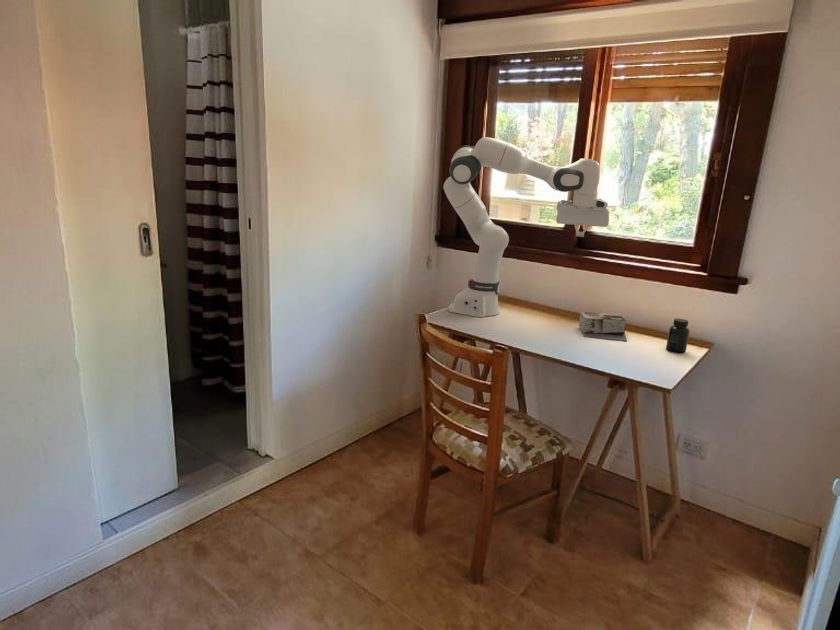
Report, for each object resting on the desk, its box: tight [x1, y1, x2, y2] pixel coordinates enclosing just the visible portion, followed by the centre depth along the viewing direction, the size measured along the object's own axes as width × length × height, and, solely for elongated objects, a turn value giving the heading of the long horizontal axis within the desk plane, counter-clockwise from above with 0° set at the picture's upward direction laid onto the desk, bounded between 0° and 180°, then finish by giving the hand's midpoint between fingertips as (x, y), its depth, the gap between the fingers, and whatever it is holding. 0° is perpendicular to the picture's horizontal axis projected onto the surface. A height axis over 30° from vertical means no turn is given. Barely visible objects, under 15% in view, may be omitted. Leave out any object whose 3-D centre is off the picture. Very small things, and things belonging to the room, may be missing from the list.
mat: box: [583, 331, 628, 343], centre depth 220 cm, size 16×13×1 cm
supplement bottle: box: [665, 318, 690, 355], centre depth 203 cm, size 7×7×12 cm
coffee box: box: [578, 311, 627, 335], centre depth 222 cm, size 9×6×16 cm
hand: (580, 236), depth 220 cm, fingers closed
